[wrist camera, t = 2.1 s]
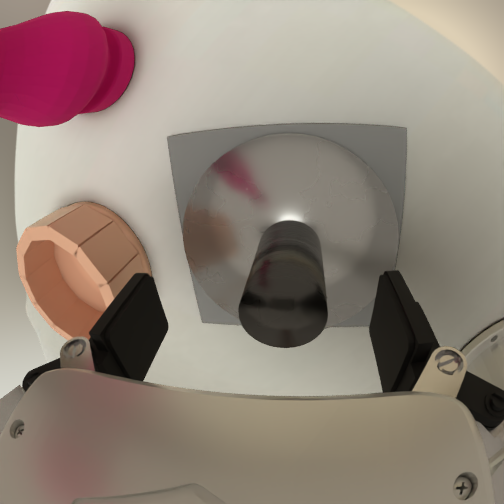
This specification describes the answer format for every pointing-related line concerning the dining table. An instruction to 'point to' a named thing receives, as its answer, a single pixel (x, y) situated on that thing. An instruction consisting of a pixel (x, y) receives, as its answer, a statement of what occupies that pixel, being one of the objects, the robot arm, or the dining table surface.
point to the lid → (290, 236)
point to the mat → (223, 140)
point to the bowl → (78, 265)
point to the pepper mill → (61, 68)
